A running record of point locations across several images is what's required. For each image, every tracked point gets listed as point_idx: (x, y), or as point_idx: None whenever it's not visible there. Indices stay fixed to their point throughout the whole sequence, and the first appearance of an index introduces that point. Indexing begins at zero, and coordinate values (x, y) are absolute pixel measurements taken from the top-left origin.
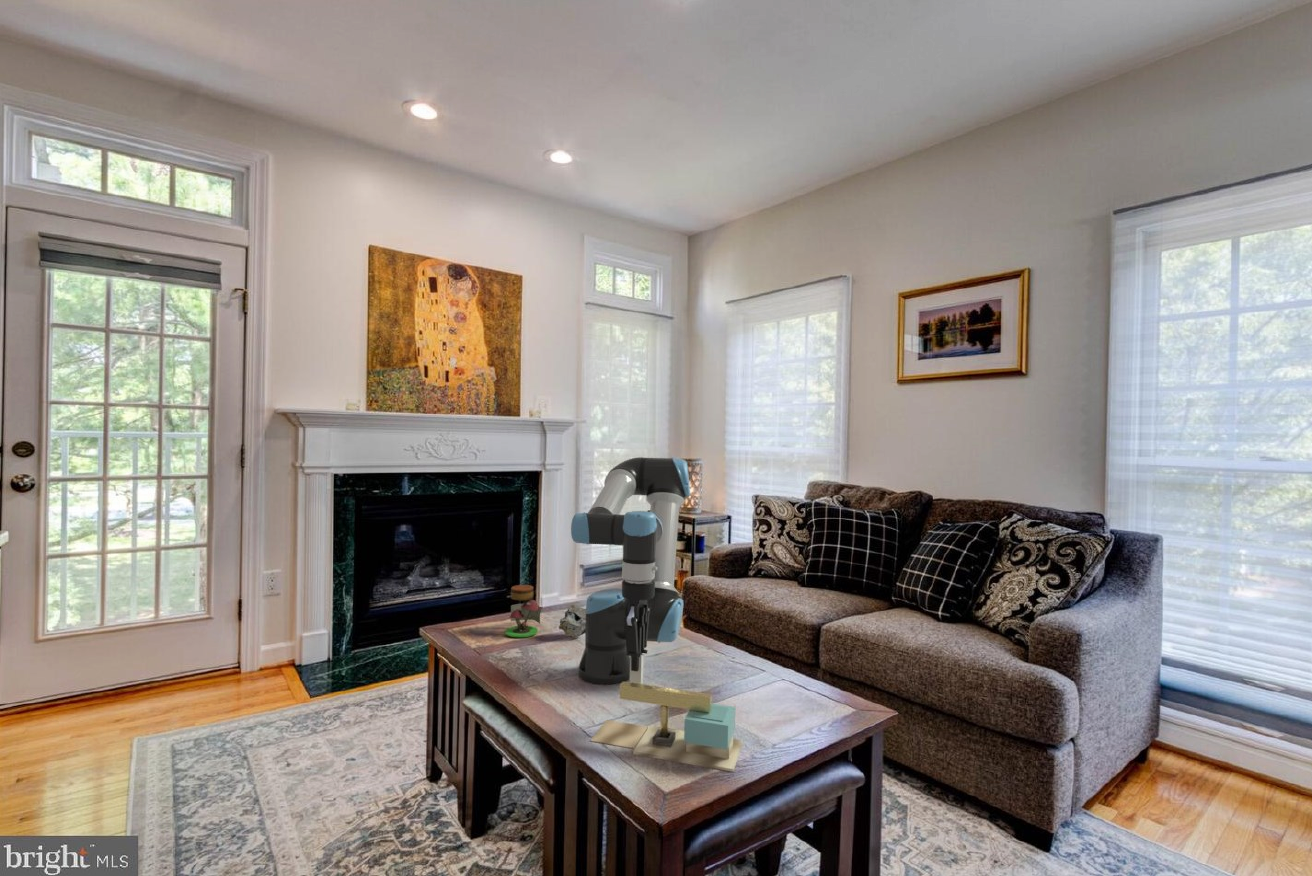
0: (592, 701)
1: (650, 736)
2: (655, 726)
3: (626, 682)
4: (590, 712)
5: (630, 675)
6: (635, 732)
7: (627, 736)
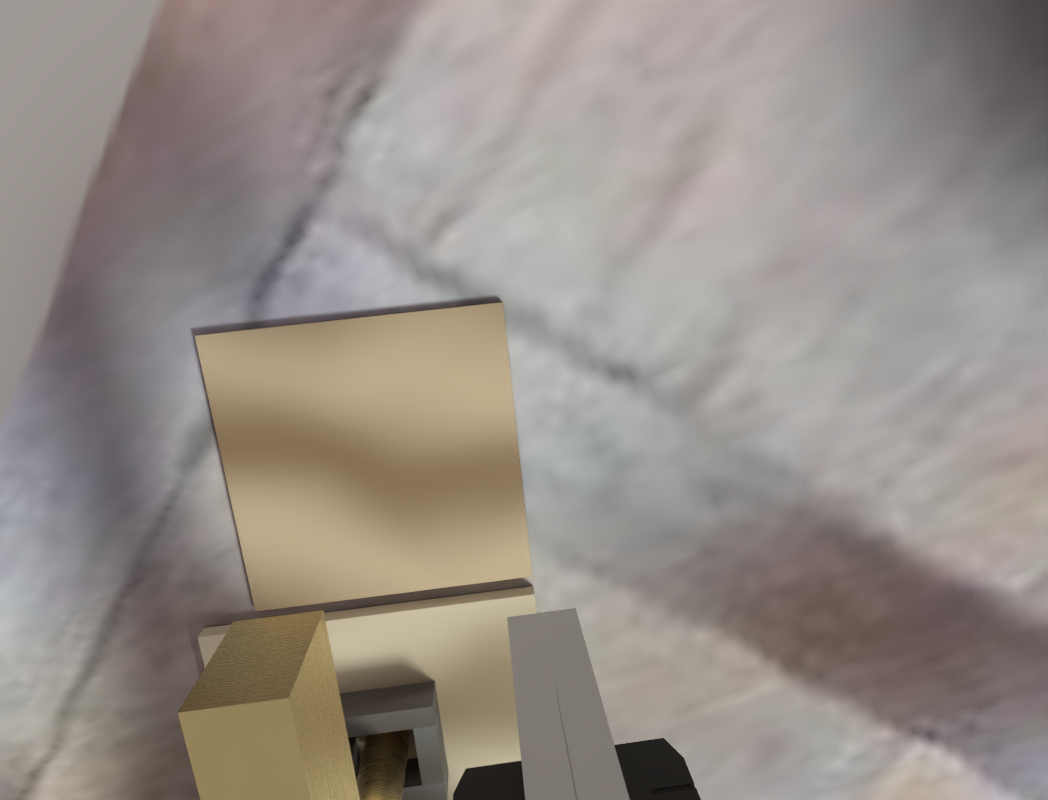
0: (745, 45)
1: (404, 651)
2: None
3: (280, 744)
4: (569, 126)
5: (513, 679)
6: (429, 542)
7: (359, 522)
